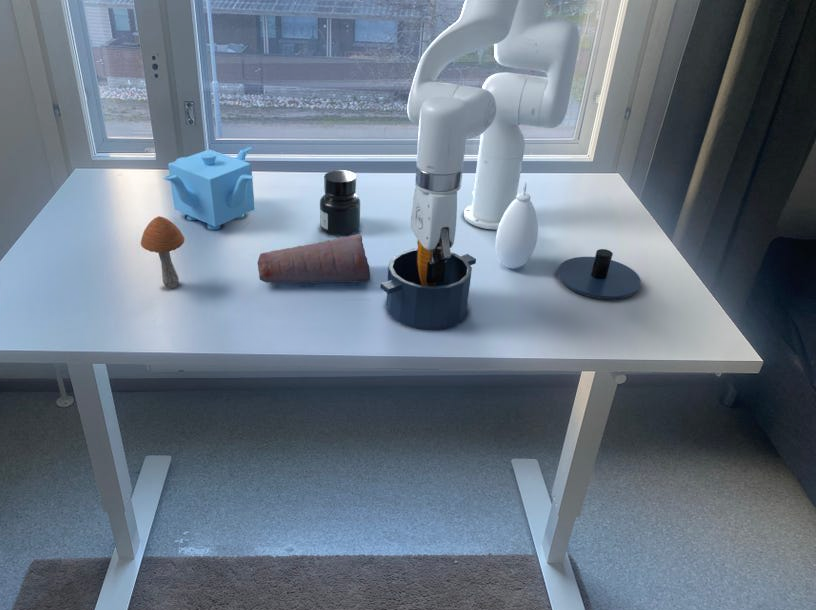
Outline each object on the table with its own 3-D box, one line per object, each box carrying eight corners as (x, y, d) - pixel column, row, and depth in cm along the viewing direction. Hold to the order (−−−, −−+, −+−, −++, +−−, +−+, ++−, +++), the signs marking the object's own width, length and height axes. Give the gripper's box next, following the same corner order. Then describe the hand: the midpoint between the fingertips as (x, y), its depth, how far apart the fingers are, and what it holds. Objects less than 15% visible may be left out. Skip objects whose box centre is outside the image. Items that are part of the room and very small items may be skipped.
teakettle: (179, 201, 168) (170, 140, 159) (257, 199, 169) (253, 138, 160) (171, 237, 153) (160, 172, 144) (257, 234, 154) (252, 169, 145)
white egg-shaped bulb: (535, 262, 144) (551, 178, 133) (525, 279, 138) (541, 193, 128) (498, 254, 147) (511, 171, 136) (486, 270, 141) (499, 185, 131)
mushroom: (155, 302, 132) (142, 229, 123) (144, 282, 137) (131, 211, 128) (196, 291, 134) (186, 219, 126) (183, 273, 140) (173, 203, 131)
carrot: (440, 301, 126) (448, 225, 117) (412, 298, 127) (418, 222, 118) (442, 287, 130) (450, 212, 121) (415, 284, 131) (421, 210, 122)
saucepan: (359, 305, 131) (360, 265, 126) (442, 276, 139) (446, 237, 134) (407, 343, 121) (410, 301, 116) (493, 309, 130) (500, 269, 125)
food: (361, 265, 143) (362, 225, 138) (371, 289, 135) (373, 248, 130) (257, 274, 140) (254, 233, 135) (261, 298, 132) (258, 256, 127)
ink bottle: (327, 216, 162) (326, 165, 154) (364, 220, 160) (365, 169, 152) (314, 234, 154) (313, 182, 147) (353, 239, 152) (354, 187, 145)
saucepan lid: (539, 274, 140) (545, 247, 136) (592, 254, 147) (599, 227, 143) (602, 310, 129) (610, 281, 126) (656, 286, 136) (665, 258, 133)
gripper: (401, 160, 121) (395, 254, 132) (434, 200, 108) (425, 301, 119) (442, 156, 122) (433, 250, 133) (479, 195, 109) (466, 296, 120)
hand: (429, 273), depth 126 cm, fingers closed on carrot, 4 cm apart
